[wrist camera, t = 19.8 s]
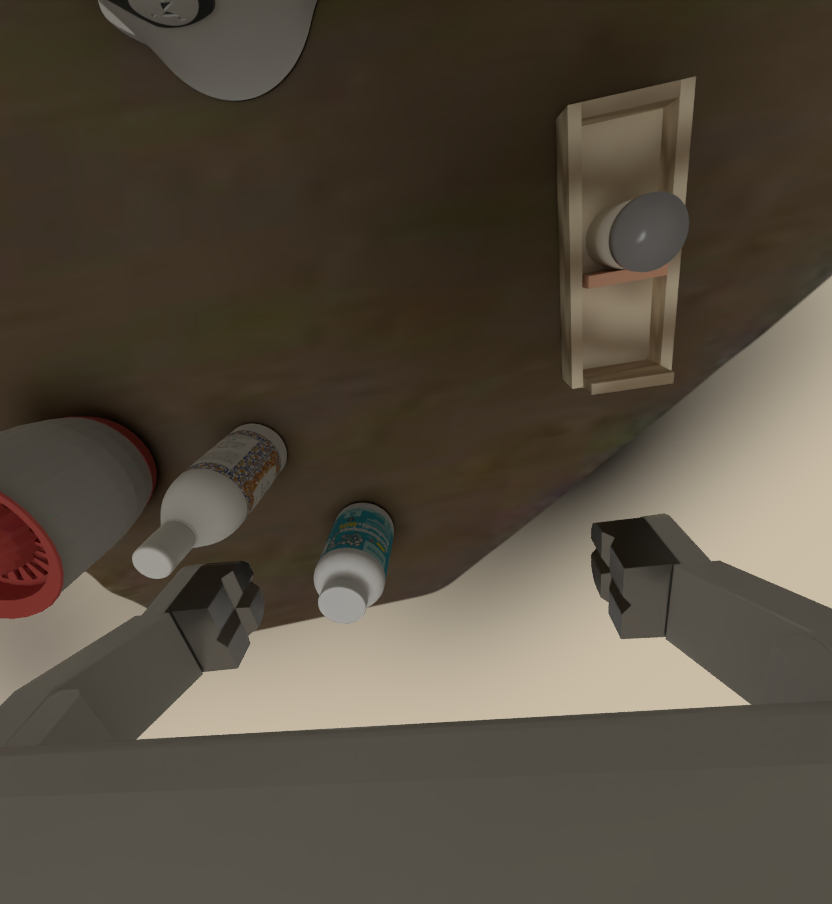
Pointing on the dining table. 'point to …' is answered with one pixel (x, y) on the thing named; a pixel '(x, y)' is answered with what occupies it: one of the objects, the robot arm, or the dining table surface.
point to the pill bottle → (354, 562)
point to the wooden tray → (584, 196)
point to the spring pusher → (618, 276)
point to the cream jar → (639, 232)
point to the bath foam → (212, 497)
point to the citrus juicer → (64, 503)
